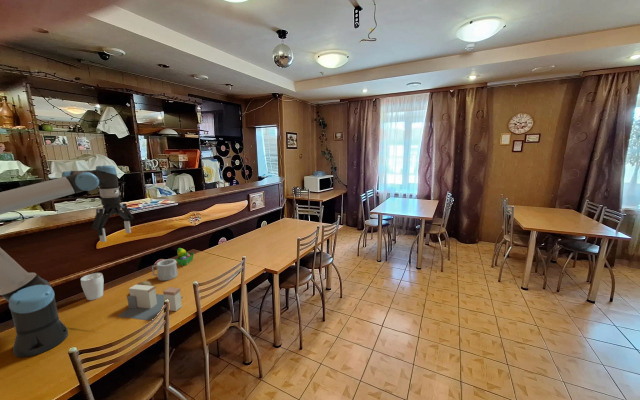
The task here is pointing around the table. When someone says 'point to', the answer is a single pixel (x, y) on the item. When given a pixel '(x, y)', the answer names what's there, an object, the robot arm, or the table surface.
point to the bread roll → (145, 283)
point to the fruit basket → (184, 257)
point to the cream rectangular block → (142, 296)
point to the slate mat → (145, 310)
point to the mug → (166, 269)
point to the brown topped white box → (173, 298)
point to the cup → (93, 285)
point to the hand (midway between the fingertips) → (116, 236)
